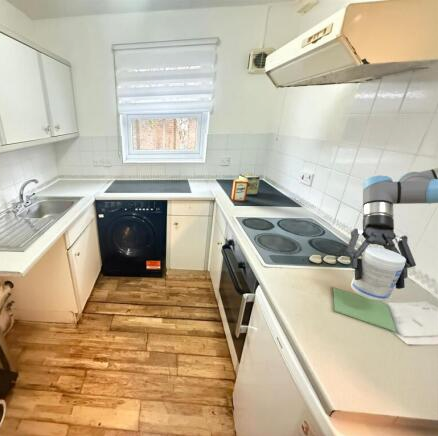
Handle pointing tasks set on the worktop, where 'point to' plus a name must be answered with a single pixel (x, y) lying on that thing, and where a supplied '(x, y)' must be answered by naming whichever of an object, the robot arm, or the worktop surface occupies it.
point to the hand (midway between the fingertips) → (378, 283)
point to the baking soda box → (239, 190)
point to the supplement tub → (378, 273)
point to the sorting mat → (363, 309)
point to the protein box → (251, 183)
